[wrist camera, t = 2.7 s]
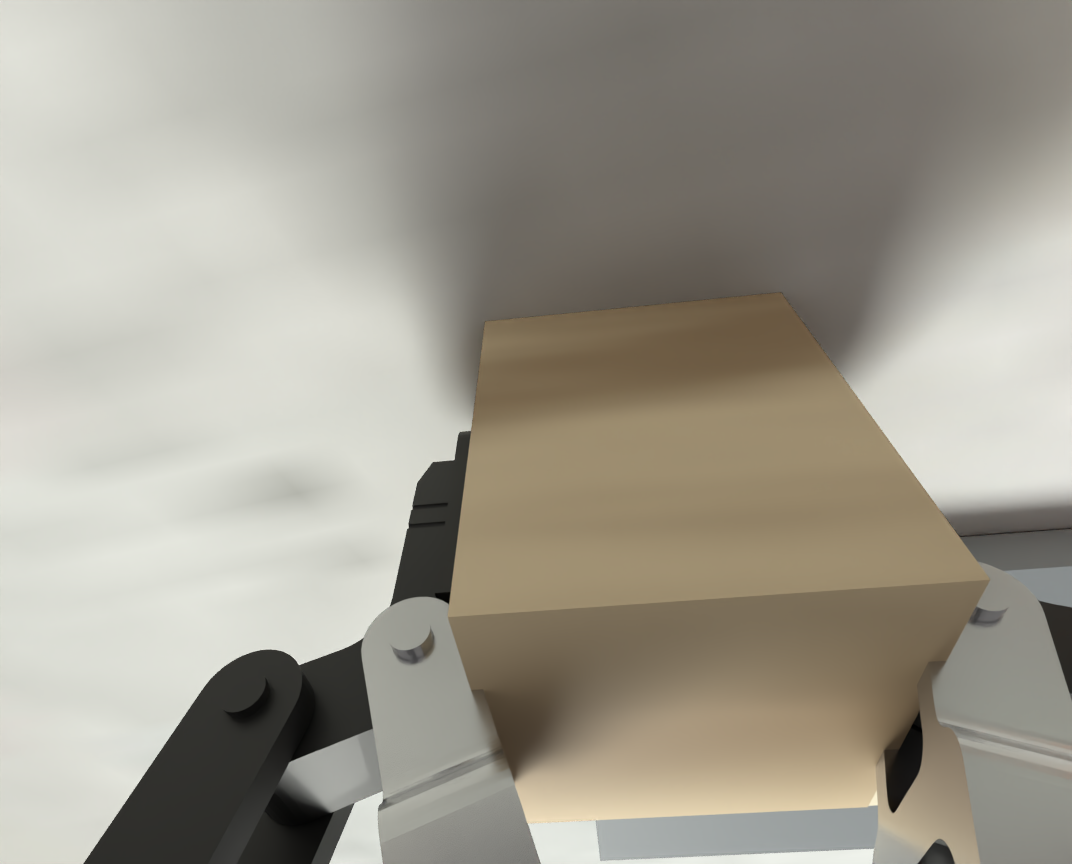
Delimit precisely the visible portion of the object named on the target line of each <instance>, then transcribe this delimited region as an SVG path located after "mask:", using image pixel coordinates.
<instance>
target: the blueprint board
mask: <svg viewBox="0 0 1072 864" xmlns="http://www.w3.org/2000/svg"><path fill="white" fill-rule="evenodd" d="M960 539H961V540H962V541H963V543H964V544H965V545H966V547H967V548H968V550H969V551H970V552H971V554H972V555H973V556H974V558H975V559H976V561H977V562H981V563H985V564H988V565H991V566H993V567H995V568H998V569H1000V570H1002V571H1004V572H1006V573H1007V574H1009V575H1011V576H1013V577H1014V578H1015V579H1017V580H1018V581H1020V582H1021V583H1022V584H1023V585H1025V586H1026V587H1027V588H1028V589H1029V590H1030V591H1031V592H1032V593H1033V594H1034V596H1035V597H1036V598H1037V600H1039V601H1042V602H1047V603H1051V604H1056V605H1062V606H1067V607H1072V529H1064V530H1050V531H1037V532H1023V533H1009V534H996V535H982V536H969V537H960ZM596 827H597V836H598V844H599V853H600V861H605V860H627V859H650V858H672V857H694V856H717V855H739V854H762V853H784V852H807V851H829V850H852V849H874V847H875V843H876V838H877V830H878V801H877V791H876V793H875V795H874V797H873V798H872V800H871V802H870V804H869V806H868V807H861V808H840V809H820V810H799V811H778V812H757V813H736V814H716V815H695V816H674V817H653V818H632V819H612V820H596Z"/></svg>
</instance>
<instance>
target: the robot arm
mask: <svg viewBox="0 0 1072 864" xmlns="http://www.w3.org/2000/svg"><path fill="white" fill-rule="evenodd" d="M470 436H471V431H465V432H460V433H459V435H458V441H457V447H456V454H455V460H454V461H442V462H433V463H432V464H431V466H430V467H429V468H428V469H427V471H426V472H425V473H424V475H423V476H422V477H421V479H420V480H419V481H418V483H417V487H416V491H415V496H414V501H413V505H412V506H413V510H411V515H410V519H409V529H407V533H406V538H405V542H404V547H403V552H402V556H401V561H400V566H399V570H398V575H397V580H396V584H395V589H394V594H393V598H392V602H391V605H390V607H389V608H387V609H386V610H384V611H383V612H382V613H381V614H380V615H379V616H378V617H377V618H376V619H375V620H374V621H373V622H372V624H371V625H370V626H369V628H368V630H367V632H366V634H365V636H364V638H363V639H361V640H360V641H358V642H357V643H355V644H353V645H351V646H349V647H347V648H345V649H342V650H340V651H337V652H334V653H332V654H329V655H326V656H323V657H321V658H318V659H315V660H312V661H310V662H307V663H304V664H302V665H298V663H297V662H296V660H295V659H294V658H293V657H291V656H290V655H288V654H287V653H285V652H282V651H278V650H260V651H256V652H252V653H249V654H246V655H244V656H241V657H239V658H237V659H236V660H234V661H232V662H231V663H229V664H228V665H226V666H225V667H223V668H222V669H221V670H220V671H219V672H217V673H216V674H215V675H214V676H213V677H212V678H211V679H210V681H209V682H208V683H207V684H206V686H205V687H204V688H203V690H202V691H201V693H200V694H199V696H198V697H197V698H196V700H195V701H194V703H193V704H192V706H191V707H190V709H189V710H188V712H187V713H186V715H185V716H184V717H183V719H182V720H181V722H180V723H179V725H178V726H177V728H176V729H175V731H174V732H173V734H172V735H171V736H170V738H169V739H168V741H167V742H166V744H165V745H164V747H163V748H162V750H161V751H160V753H159V754H158V755H157V757H156V758H155V760H154V761H153V763H152V764H151V766H150V767H149V769H148V770H147V772H146V773H145V774H144V776H143V777H142V779H141V780H140V782H139V783H138V785H137V786H136V788H135V789H134V791H133V792H132V794H131V795H130V796H129V798H128V799H127V801H126V802H125V804H124V805H123V807H122V808H121V810H120V811H119V813H118V814H117V815H116V817H115V818H114V820H113V821H112V823H111V824H110V826H109V827H108V829H107V830H106V832H105V833H104V834H103V836H102V837H101V839H100V840H99V842H98V843H97V845H96V846H95V848H94V849H93V851H92V852H91V853H90V855H89V856H88V858H87V859H86V861H85V862H84V864H329V862H330V860H331V858H332V855H333V853H334V850H335V848H336V846H337V843H338V841H339V839H340V836H341V834H342V832H343V829H344V827H345V824H346V822H347V820H348V817H349V815H350V813H351V810H352V808H353V805H354V803H355V802H358V801H360V800H362V799H365V798H367V797H370V796H372V795H374V794H377V793H379V792H381V791H383V802H382V804H380V805H379V808H378V829H379V838H380V846H381V853H382V859H383V864H541V863H540V860H539V857H538V854H537V851H536V848H535V845H534V842H533V839H532V836H531V832H530V829H529V826H528V823H527V820H526V817H525V814H524V811H523V808H522V805H521V802H520V799H519V796H518V793H517V790H516V787H515V783H514V780H513V777H512V774H511V771H510V768H509V765H508V762H507V759H506V756H505V754H504V751H503V749H502V746H501V743H500V740H499V737H498V734H497V731H496V728H495V725H494V721H493V718H492V715H491V712H490V709H489V706H488V703H487V700H486V697H485V694H484V691H483V689H478V690H471V689H470V686H469V682H468V679H467V676H466V673H465V670H464V667H463V664H462V661H461V658H460V654H459V651H458V648H457V645H456V642H455V639H454V636H453V633H452V630H451V626H450V623H449V620H448V610H449V602H450V594H451V586H452V578H453V570H454V562H455V554H456V547H457V539H458V531H459V523H460V515H461V507H462V499H463V491H464V483H465V476H466V468H467V460H468V452H469V444H470ZM978 563H979V565H980V566H981V567H982V569H983V570H984V571H985V573H986V574H987V576H988V577H989V578H990V582H989V583H988V585H987V587H986V589H985V591H984V593H983V594H982V596H981V598H980V600H979V602H978V604H977V606H976V607H975V609H974V611H973V613H972V615H971V617H970V619H969V620H968V622H967V624H966V626H965V628H964V630H963V632H962V633H961V635H960V637H959V639H958V641H957V643H956V645H955V646H954V648H953V650H952V652H951V654H950V656H949V658H948V659H947V661H932V662H928V664H927V666H926V668H925V670H924V672H923V674H922V676H921V678H920V680H919V682H918V684H917V691H918V699H919V707H920V711H919V713H918V715H917V717H916V719H915V721H914V722H913V724H912V726H911V728H910V730H909V732H908V734H907V735H906V737H905V739H904V741H903V743H902V745H901V747H900V748H899V749H890V750H883V752H882V754H881V756H880V758H879V760H878V762H877V764H876V766H875V767H876V784H877V801H878V830H877V838H876V843H875V847H874V854H873V864H1072V607H1067V606H1062V605H1056V604H1051V603H1047V602H1042V601H1039V600H1037V598H1036V597H1035V596H1034V594H1033V593H1032V592H1031V591H1030V590H1029V589H1028V588H1027V587H1026V586H1025V585H1023V584H1022V583H1021V582H1020V581H1018V580H1017V579H1015V578H1014V577H1013V576H1011V575H1009V574H1007V573H1006V572H1004V571H1002V570H1000V569H998V568H995V567H993V566H991V565H988V564H985V563H981V562H978Z"/></svg>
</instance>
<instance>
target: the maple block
mask: <svg viewBox="0 0 1072 864" xmlns="http://www.w3.org/2000/svg"><path fill="white" fill-rule="evenodd" d="M989 582H990V578H989V577H988V576H987V574H986V573H985V571H984V570H983V569H982V567H981V566H980V565H979V563H978V562H977V561H976V559H975V558H974V556H973V555H972V554H971V552H970V551H969V550H968V548H967V547H966V545H965V544H964V543H963V541H962V540H961V539H960V537H959V536H958V534H957V533H956V532H955V530H954V529H953V528H952V526H951V525H950V523H949V522H948V521H947V519H946V518H945V517H944V515H943V514H942V513H941V511H940V510H939V508H938V507H937V506H936V504H935V503H934V502H933V500H932V499H931V497H930V496H929V495H928V493H927V492H926V491H925V489H924V488H923V486H922V485H921V484H920V482H919V481H918V480H917V478H916V477H915V475H914V474H913V473H912V471H911V470H910V469H909V467H908V466H907V464H906V463H905V462H904V460H903V459H902V458H901V456H900V455H899V454H898V452H897V451H896V449H895V448H894V447H893V445H892V444H891V443H890V441H889V440H888V438H887V437H886V436H885V434H884V433H883V432H882V430H881V429H880V427H879V426H878V425H877V423H876V422H875V421H874V419H873V418H872V416H871V415H870V414H869V412H868V411H867V410H866V408H865V407H864V406H863V404H862V403H861V401H860V400H859V399H858V397H857V396H856V395H855V393H854V392H853V390H852V389H851V388H850V386H849V385H848V384H847V382H846V381H845V379H844V378H843V377H842V375H841V374H840V373H839V371H838V370H837V368H836V367H835V366H834V364H833V363H832V362H831V360H830V359H829V357H828V356H827V355H826V353H825V352H824V351H823V349H822V348H821V347H820V345H819V344H818V342H817V341H816V340H815V338H814V337H813V336H812V334H811V333H810V331H809V330H808V329H807V327H806V326H805V325H804V323H803V322H802V320H801V319H800V318H799V316H798V315H797V314H796V312H795V311H794V309H793V308H792V307H791V305H790V304H789V303H788V301H787V300H786V299H785V297H784V296H783V294H782V293H781V292H779V293H769V294H759V295H749V296H738V297H728V298H718V299H708V300H698V301H688V302H677V303H667V304H657V305H647V306H637V307H627V308H616V309H606V310H596V311H586V312H576V313H566V314H556V315H545V316H535V317H525V318H515V319H505V320H495V321H485V326H484V334H483V341H482V349H481V357H480V365H479V373H478V381H477V389H476V397H475V405H474V412H473V420H472V428H471V436H470V444H469V452H468V460H467V468H466V476H465V483H464V491H463V499H462V507H461V515H460V523H459V531H458V539H457V547H456V554H455V562H454V570H453V578H452V586H451V594H450V602H449V610H448V620H449V623H450V626H451V630H452V633H453V636H454V639H455V642H456V645H457V648H458V651H459V654H460V658H461V661H462V664H463V667H464V670H465V673H466V676H467V679H468V682H469V686H470V689H471V690H478V689H483V691H484V694H485V697H486V700H487V703H488V706H489V709H490V712H491V715H492V718H493V721H494V725H495V728H496V731H497V734H498V737H499V740H500V743H501V746H502V749H503V751H504V754H505V756H506V759H507V762H508V765H509V768H510V771H511V774H512V777H513V780H514V783H515V787H516V790H517V793H518V796H519V799H520V802H521V805H522V808H523V811H524V814H525V817H526V820H527V823H549V822H570V821H591V820H612V819H632V818H653V817H674V816H695V815H716V814H736V813H757V812H778V811H799V810H820V809H840V808H861V807H868V806H869V804H870V802H871V800H872V798H873V797H874V795H875V793H876V791H877V784H876V767H875V766H876V764H877V762H878V760H879V758H880V756H881V754H882V752H883V750H890V749H899V748H900V747H901V745H902V743H903V741H904V739H905V737H906V735H907V734H908V732H909V730H910V728H911V726H912V724H913V722H914V721H915V719H916V717H917V715H918V713H919V711H920V707H919V699H918V691H917V684H918V682H919V680H920V678H921V676H922V674H923V672H924V670H925V668H926V666H927V664H928V662H932V661H947V659H948V658H949V656H950V654H951V652H952V650H953V648H954V646H955V645H956V643H957V641H958V639H959V637H960V635H961V633H962V632H963V630H964V628H965V626H966V624H967V622H968V620H969V619H970V617H971V615H972V613H973V611H974V609H975V607H976V606H977V604H978V602H979V600H980V598H981V596H982V594H983V593H984V591H985V589H986V587H987V585H988V583H989Z"/></svg>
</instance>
